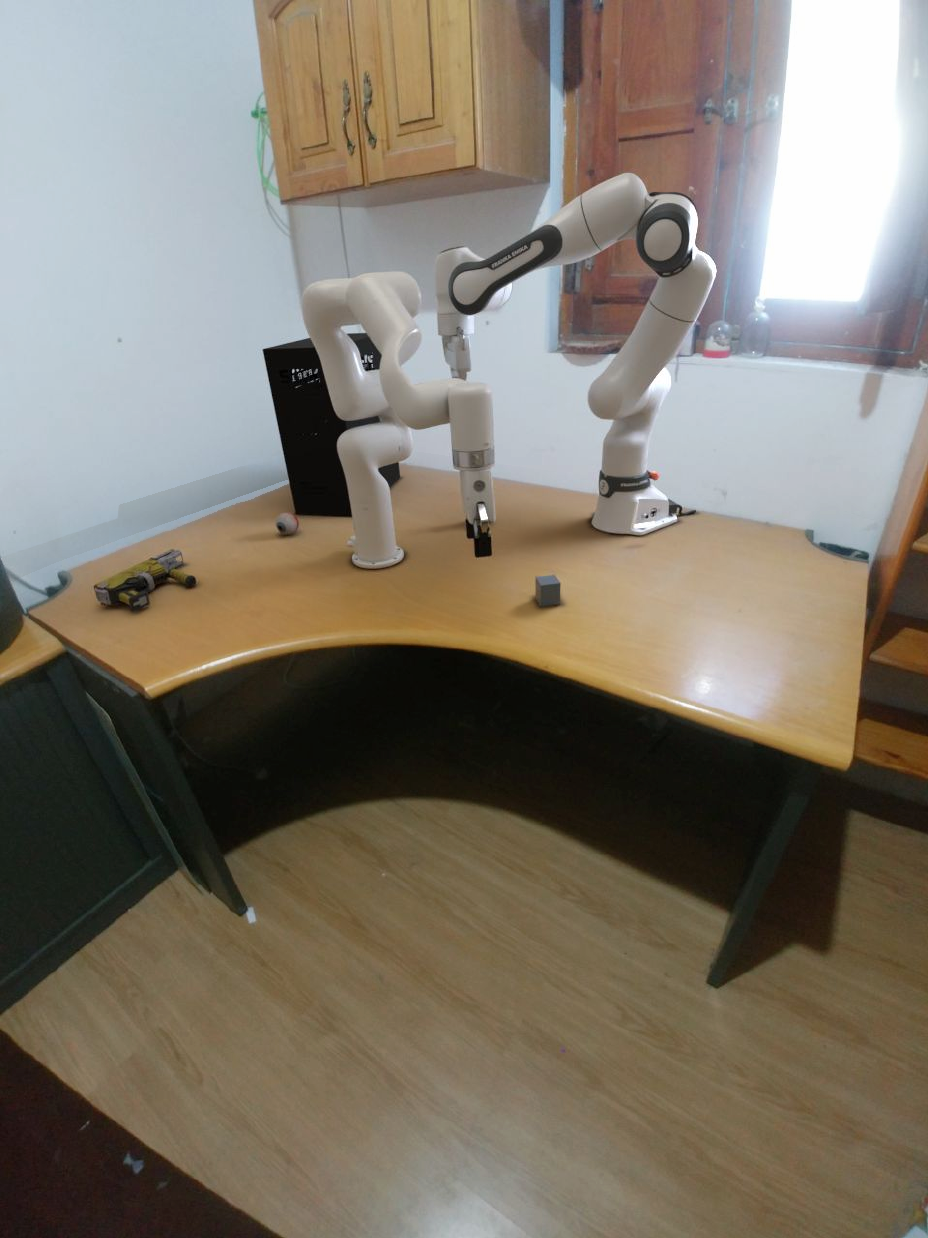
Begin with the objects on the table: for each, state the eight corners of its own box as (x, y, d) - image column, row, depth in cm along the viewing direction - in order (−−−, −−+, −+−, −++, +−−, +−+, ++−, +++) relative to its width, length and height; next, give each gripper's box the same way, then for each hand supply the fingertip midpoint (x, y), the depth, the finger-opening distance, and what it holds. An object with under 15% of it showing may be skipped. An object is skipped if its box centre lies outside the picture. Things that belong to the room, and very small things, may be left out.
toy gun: (219, 557, 146) (169, 546, 150) (142, 598, 126) (87, 585, 129) (222, 574, 148) (172, 563, 152) (147, 618, 128) (92, 604, 132)
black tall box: (359, 516, 174) (334, 346, 152) (295, 513, 179) (262, 349, 156) (400, 477, 206) (384, 331, 183) (345, 476, 210) (323, 334, 188)
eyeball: (273, 537, 164) (268, 516, 161) (287, 528, 169) (282, 508, 166) (291, 539, 161) (286, 518, 158) (305, 530, 166) (301, 510, 163)
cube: (540, 607, 123) (540, 585, 120) (535, 598, 126) (535, 576, 124) (559, 604, 123) (560, 582, 121) (554, 595, 127) (554, 574, 124)
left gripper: (504, 467, 100) (507, 561, 108) (485, 444, 115) (489, 529, 123) (459, 472, 99) (466, 567, 108) (446, 448, 114) (453, 533, 123)
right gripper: (476, 328, 137) (479, 392, 144) (461, 322, 154) (464, 379, 161) (449, 330, 136) (453, 394, 143) (437, 324, 154) (441, 381, 161)
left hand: (479, 546), depth 116 cm, fingers open, 9 cm apart
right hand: (459, 386), depth 152 cm, fingers open, 8 cm apart
